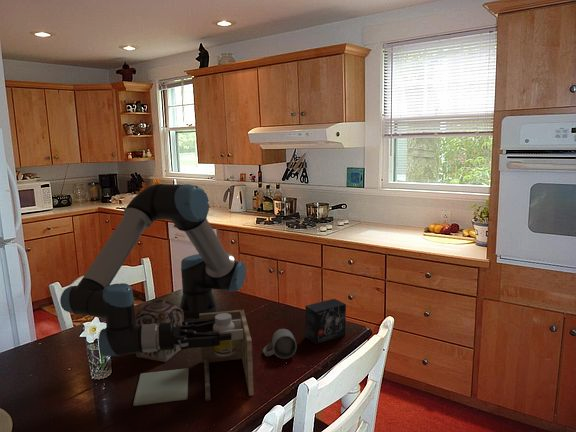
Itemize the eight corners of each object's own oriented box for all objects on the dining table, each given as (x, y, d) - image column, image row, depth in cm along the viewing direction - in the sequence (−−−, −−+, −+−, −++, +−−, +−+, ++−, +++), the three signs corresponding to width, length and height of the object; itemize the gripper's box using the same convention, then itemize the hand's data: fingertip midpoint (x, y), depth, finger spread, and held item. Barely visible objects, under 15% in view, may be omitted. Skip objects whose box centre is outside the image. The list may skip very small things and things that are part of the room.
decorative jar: (135, 357, 147) (131, 304, 144) (157, 342, 158) (153, 292, 155) (166, 363, 143) (162, 309, 140) (186, 347, 154) (183, 296, 151)
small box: (316, 345, 154) (315, 311, 152) (304, 338, 159) (304, 305, 157) (346, 335, 161) (346, 303, 159) (334, 329, 166) (334, 297, 164)
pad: (140, 375, 136) (140, 373, 136) (188, 370, 139) (188, 368, 139) (133, 405, 121) (133, 403, 120) (187, 399, 123) (187, 397, 123)
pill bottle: (227, 345, 136) (225, 310, 134) (240, 351, 131) (238, 315, 129) (209, 352, 131) (207, 316, 129) (222, 359, 127) (220, 322, 125)
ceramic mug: (293, 346, 153) (292, 324, 152) (297, 357, 145) (296, 335, 144) (262, 349, 152) (260, 327, 150) (264, 361, 144) (263, 338, 142)
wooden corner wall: (201, 361, 144) (199, 313, 141) (245, 356, 146) (243, 309, 144) (202, 401, 122) (199, 345, 119) (253, 395, 125) (251, 340, 122)
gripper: (162, 334, 137) (239, 327, 141) (157, 366, 118) (245, 356, 123) (160, 311, 135) (238, 304, 140) (155, 339, 117) (244, 330, 121)
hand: (241, 328), depth 131 cm, fingers closed on pill bottle, 6 cm apart
